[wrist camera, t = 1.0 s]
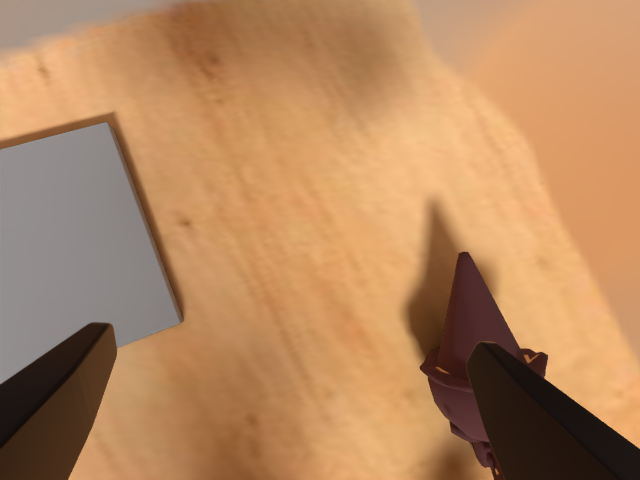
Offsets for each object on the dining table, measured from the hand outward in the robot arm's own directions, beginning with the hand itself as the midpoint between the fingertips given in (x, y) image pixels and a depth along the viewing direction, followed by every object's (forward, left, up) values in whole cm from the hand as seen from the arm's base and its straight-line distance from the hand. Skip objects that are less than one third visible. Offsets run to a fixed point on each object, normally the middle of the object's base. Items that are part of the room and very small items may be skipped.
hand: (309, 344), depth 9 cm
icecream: (-4, -13, -15) cm, 20 cm away
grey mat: (+2, +14, -15) cm, 20 cm away
